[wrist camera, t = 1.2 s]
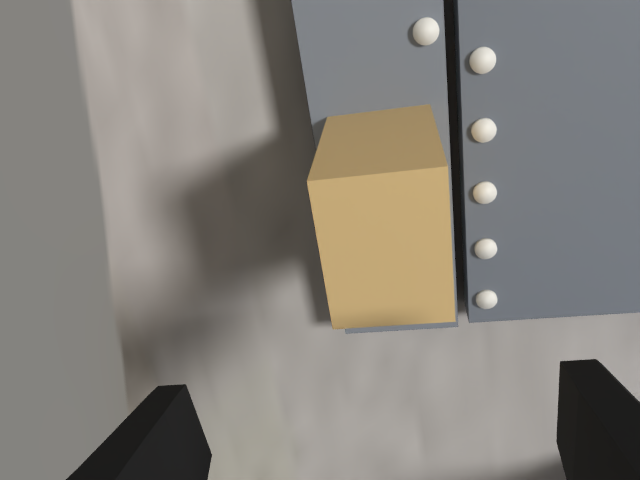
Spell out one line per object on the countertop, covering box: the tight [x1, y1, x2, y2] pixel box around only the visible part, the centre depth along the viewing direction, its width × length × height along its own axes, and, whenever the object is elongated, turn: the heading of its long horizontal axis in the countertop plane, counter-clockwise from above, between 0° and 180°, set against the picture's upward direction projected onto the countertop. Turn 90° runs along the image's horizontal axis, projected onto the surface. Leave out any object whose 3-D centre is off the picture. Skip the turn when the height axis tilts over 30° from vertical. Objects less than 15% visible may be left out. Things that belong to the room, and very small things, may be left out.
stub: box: [291, 0, 458, 334], centre depth 15 cm, size 4×12×6 cm, turn 9°
